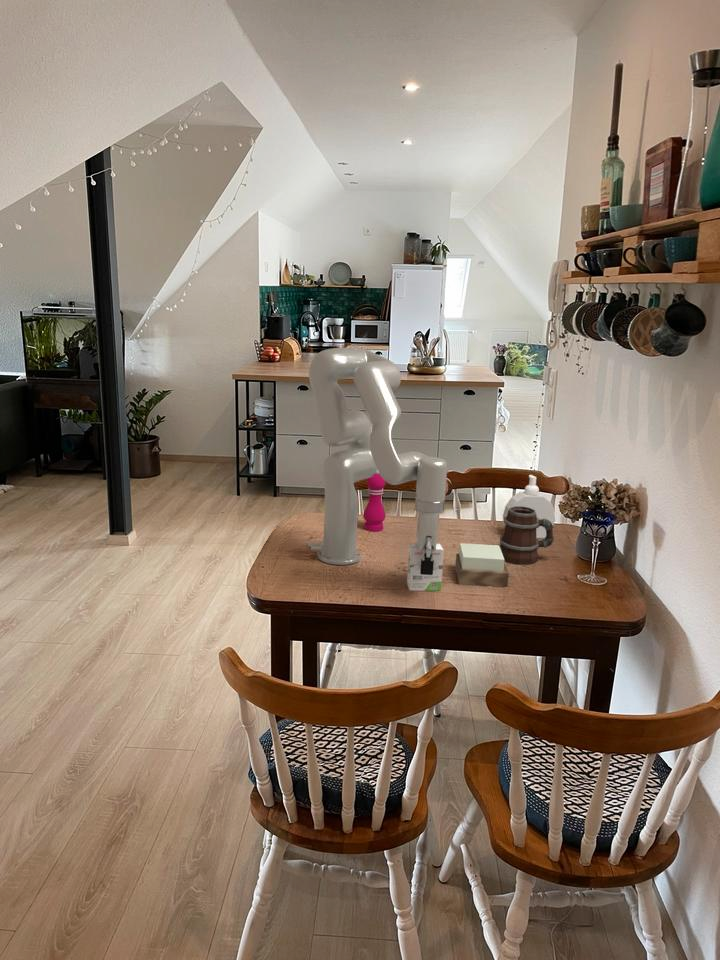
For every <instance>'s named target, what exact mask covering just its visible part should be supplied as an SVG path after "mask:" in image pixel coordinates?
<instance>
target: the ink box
mask: <svg viewBox="0 0 720 960" xmlns="http://www.w3.org/2000/svg"><path fill="white" fill-rule="evenodd" d="M424 548H426V547H424ZM444 551H445V549H444V548H443V545H442V544H441V543H437V545H436V550H435V551H433V560H434V565H433V575H421V574H420V570H421V559H422V550H420V551H418V550H417V542H414V543H413V542H411V543H409V549H408V563H407V564H408V565H407V579H406V585H407V587H408V590H409V591H410V592H413V591H415V592H416V591H420V592H422V591H423V592H424V591H425V592H426V591H427V592H428V591H429V592H431V591H432V592H439V591H440V592H441V590H442V579H443V570H444V569H443V566H444V553H445V552H444ZM425 553H426V552H425Z"/></svg>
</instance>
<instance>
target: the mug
mask: <svg viewBox="0 0 720 960" xmlns="http://www.w3.org/2000/svg"><path fill="white" fill-rule="evenodd" d="M504 523H505V527H504V529H503V533H502V536H500V538H499V546H500V549H501V552H502V554H503V557H504V562H505V563H511V564H515V565H531V564H534V563H536V562H538V560H539V552H538V549H539V548H544V549H545V548H548V547H550V546H551V545H552V544H553V543H554V540H555V537H554V532H553V530H554V525H552V523H551V522H550V521H549V520H548V519H545V518H543V519H539V518H537V515H536V512H535V510H534V509H531V508H528V507H523V506H514V507H511V508H510V509H509V510H508V514H507V516H506V517H504ZM539 526H543V527H545V529H546V537H545V538H542V539H541V540H540V539H539V538H536V528H539Z"/></svg>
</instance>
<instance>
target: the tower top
mask: <svg viewBox="0 0 720 960" xmlns="http://www.w3.org/2000/svg"><path fill="white" fill-rule="evenodd" d="M458 554H459V556H460V561H461V566H462V569H466V570H483V571H499V572H503V570H504V562H505V561H504V557H503V554H502V552H501V549H500V544H499V545H498V544H497V545H496V544H482V543H479V544H477V543H466V542H465V543H464V542H462V543H461V542H460V543H459V553H458Z"/></svg>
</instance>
